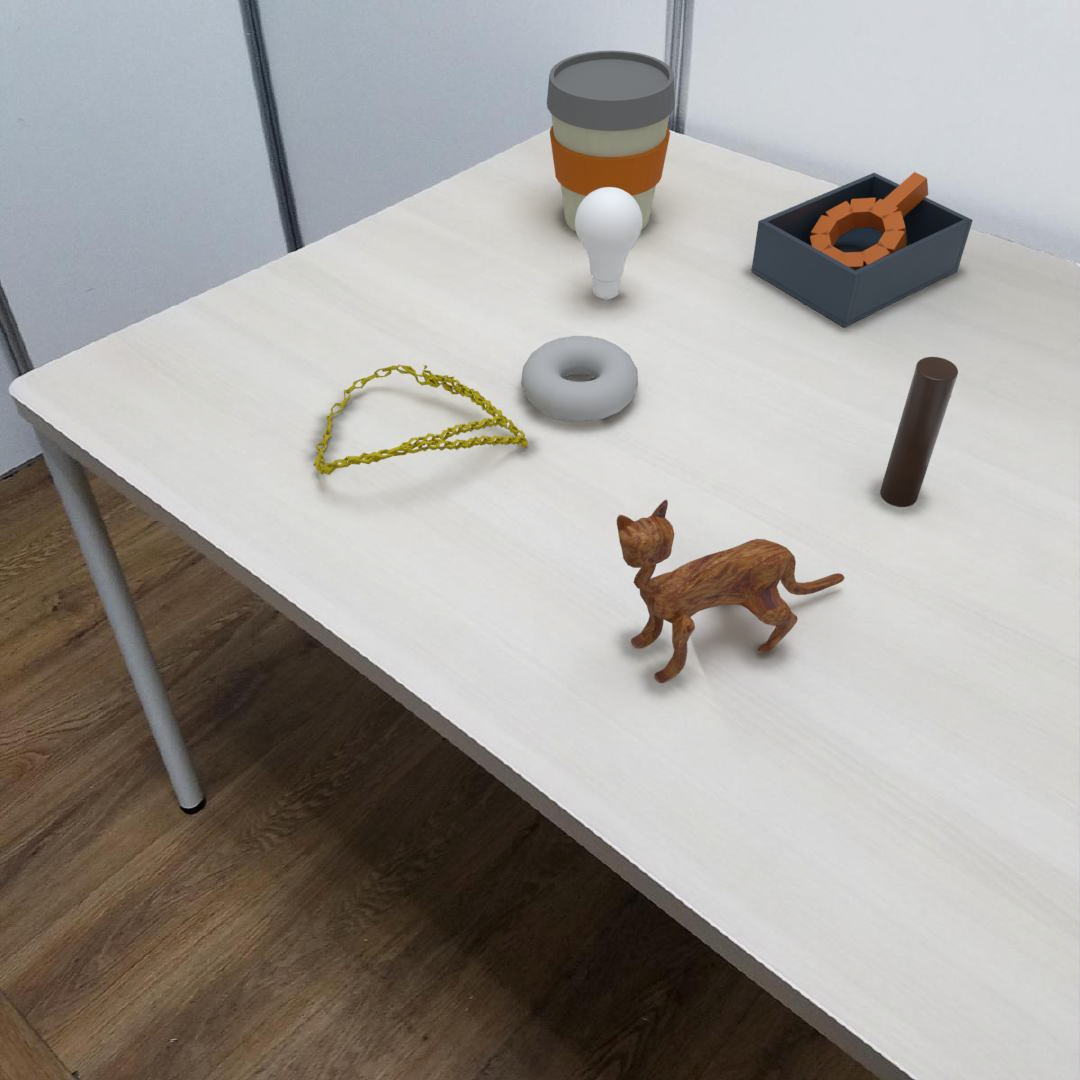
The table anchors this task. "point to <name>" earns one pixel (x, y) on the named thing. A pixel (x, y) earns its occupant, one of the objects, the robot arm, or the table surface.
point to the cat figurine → (708, 584)
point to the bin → (874, 286)
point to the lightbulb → (608, 235)
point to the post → (918, 430)
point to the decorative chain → (408, 447)
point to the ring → (870, 223)
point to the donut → (579, 398)
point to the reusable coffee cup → (609, 125)
